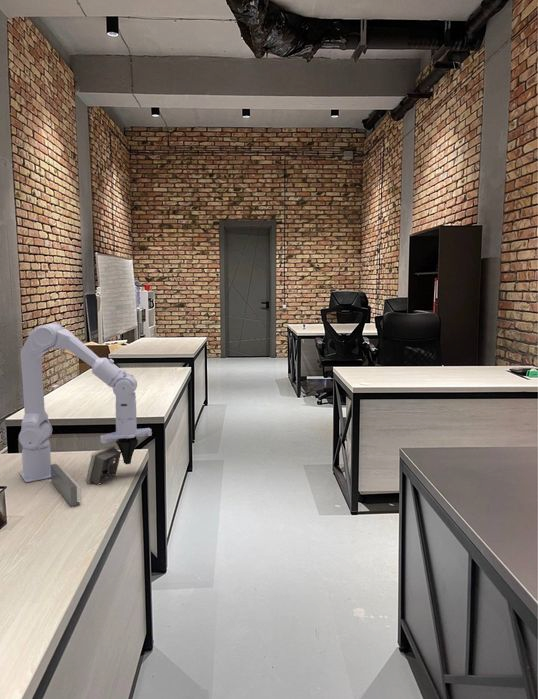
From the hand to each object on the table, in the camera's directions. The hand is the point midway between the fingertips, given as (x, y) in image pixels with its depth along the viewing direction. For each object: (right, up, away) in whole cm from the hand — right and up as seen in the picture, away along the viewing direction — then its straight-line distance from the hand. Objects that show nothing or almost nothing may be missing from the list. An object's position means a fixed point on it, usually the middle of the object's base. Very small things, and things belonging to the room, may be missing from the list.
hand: (127, 463), depth 154 cm
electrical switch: (-5, -4, -3) cm, 8 cm away
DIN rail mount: (-13, -5, -14) cm, 20 cm away
